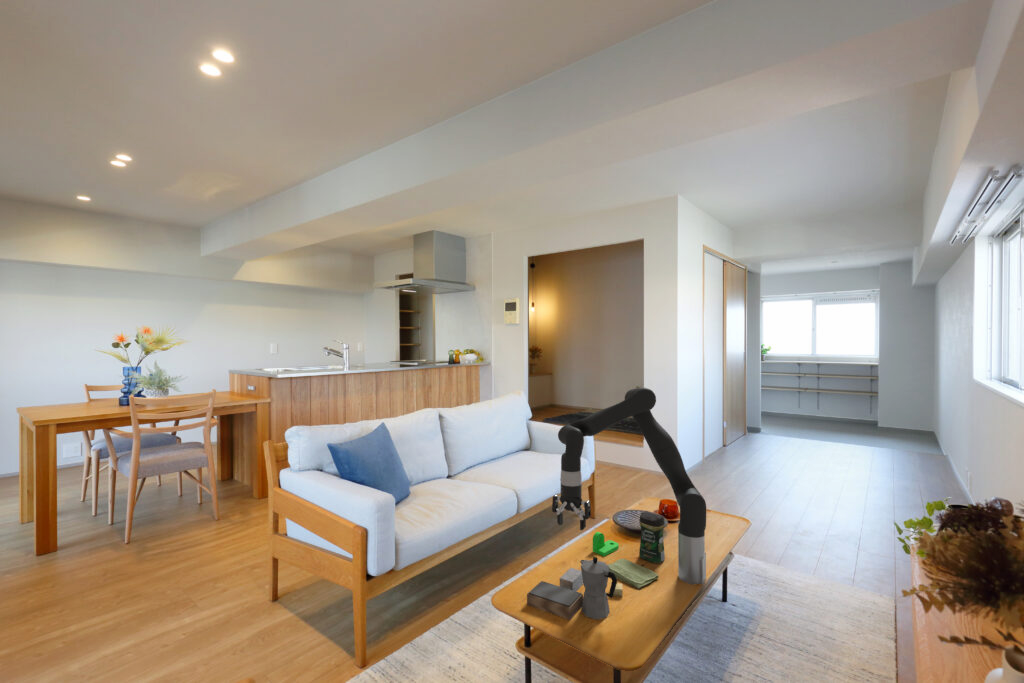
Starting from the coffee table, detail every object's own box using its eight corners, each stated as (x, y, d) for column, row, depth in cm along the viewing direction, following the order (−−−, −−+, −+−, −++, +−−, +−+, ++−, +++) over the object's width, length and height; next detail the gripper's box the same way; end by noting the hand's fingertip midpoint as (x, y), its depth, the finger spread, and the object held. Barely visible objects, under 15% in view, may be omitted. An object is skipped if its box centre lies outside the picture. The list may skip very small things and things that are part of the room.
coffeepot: (570, 608, 156) (570, 554, 156) (589, 598, 162) (589, 546, 162) (607, 630, 145) (606, 572, 144) (626, 618, 150) (626, 562, 150)
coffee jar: (636, 558, 192) (636, 512, 192) (646, 552, 198) (645, 507, 197) (658, 566, 185) (657, 519, 185) (667, 559, 191) (667, 513, 191)
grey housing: (585, 582, 173) (585, 568, 173) (570, 599, 162) (570, 584, 162) (573, 578, 176) (572, 565, 176) (557, 594, 165) (557, 580, 165)
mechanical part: (604, 557, 193) (604, 538, 193) (592, 552, 197) (592, 533, 197) (621, 548, 201) (621, 530, 201) (609, 544, 206) (609, 526, 206)
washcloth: (640, 592, 167) (640, 583, 167) (600, 573, 180) (600, 565, 180) (660, 580, 175) (660, 571, 175) (621, 563, 189) (621, 555, 189)
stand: (583, 605, 158) (582, 592, 158) (570, 620, 149) (570, 607, 149) (541, 592, 167) (541, 579, 167) (526, 605, 158) (526, 592, 158)
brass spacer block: (622, 592, 167) (622, 583, 167) (622, 598, 163) (622, 589, 163) (610, 591, 167) (610, 582, 167) (610, 596, 164) (610, 588, 164)
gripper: (593, 482, 168) (593, 527, 168) (558, 476, 176) (558, 519, 176) (585, 488, 162) (585, 535, 162) (548, 481, 170) (548, 526, 170)
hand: (571, 527), depth 169 cm, fingers open, 8 cm apart
